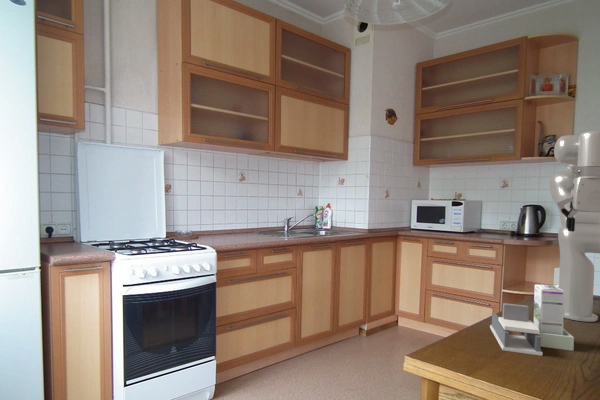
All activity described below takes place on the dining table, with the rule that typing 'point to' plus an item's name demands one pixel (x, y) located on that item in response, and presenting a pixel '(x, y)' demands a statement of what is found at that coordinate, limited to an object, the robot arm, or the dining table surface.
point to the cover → (517, 319)
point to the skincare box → (556, 276)
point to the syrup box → (549, 309)
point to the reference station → (516, 339)
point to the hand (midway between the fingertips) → (590, 232)
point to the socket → (558, 340)
